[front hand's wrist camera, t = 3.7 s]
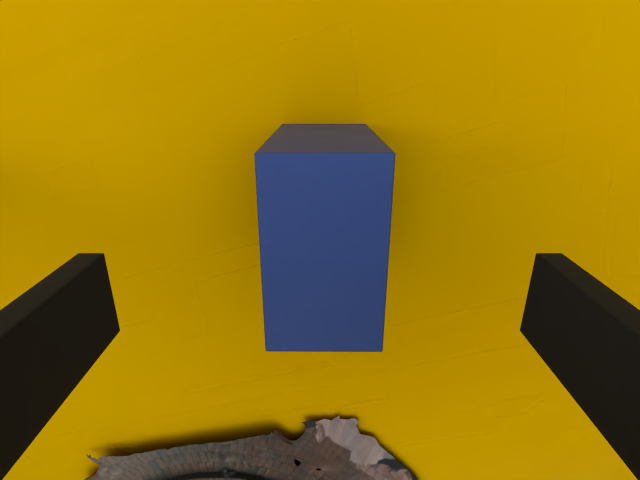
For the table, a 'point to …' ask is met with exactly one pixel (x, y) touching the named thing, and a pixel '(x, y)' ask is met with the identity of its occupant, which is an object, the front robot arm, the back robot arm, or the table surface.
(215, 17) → the table surface
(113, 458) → the hat
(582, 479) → the table surface
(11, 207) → the table surface
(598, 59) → the table surface
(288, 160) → the brick
